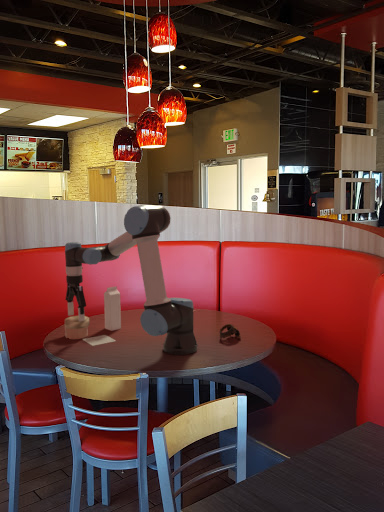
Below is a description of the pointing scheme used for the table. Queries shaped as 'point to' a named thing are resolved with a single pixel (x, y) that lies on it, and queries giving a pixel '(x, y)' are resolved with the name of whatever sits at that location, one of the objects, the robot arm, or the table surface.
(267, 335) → the table surface
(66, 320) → the brass lid
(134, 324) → the table surface
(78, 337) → the terracotta bowl
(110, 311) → the milk
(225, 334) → the pottery mug
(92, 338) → the silicone mat
